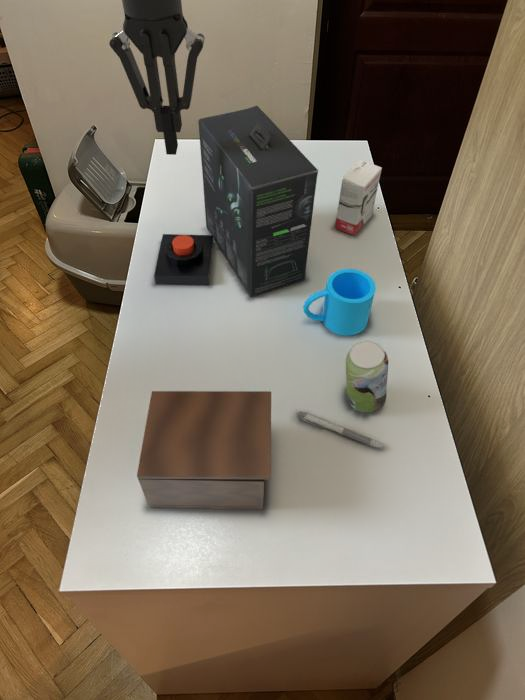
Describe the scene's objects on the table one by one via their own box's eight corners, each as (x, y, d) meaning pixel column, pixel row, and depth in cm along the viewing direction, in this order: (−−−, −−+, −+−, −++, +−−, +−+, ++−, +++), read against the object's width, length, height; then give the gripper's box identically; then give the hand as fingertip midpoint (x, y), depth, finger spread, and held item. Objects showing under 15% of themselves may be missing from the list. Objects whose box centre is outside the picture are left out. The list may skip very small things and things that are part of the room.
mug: (360, 299, 98) (367, 266, 91) (373, 332, 93) (382, 300, 86) (296, 306, 96) (299, 273, 90) (306, 340, 91) (310, 308, 85)
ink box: (354, 237, 109) (364, 187, 100) (333, 228, 111) (341, 178, 101) (372, 215, 114) (383, 166, 104) (352, 207, 115) (361, 158, 106)
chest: (264, 429, 80) (265, 396, 73) (263, 509, 72) (264, 481, 66) (161, 427, 80) (152, 394, 73) (148, 507, 72) (137, 479, 66)
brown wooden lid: (271, 394, 73) (271, 391, 72) (270, 479, 65) (270, 476, 64) (152, 394, 73) (151, 391, 73) (137, 478, 65) (136, 476, 65)
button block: (155, 284, 100) (152, 268, 96) (164, 242, 107) (161, 226, 104) (208, 285, 100) (207, 269, 96) (213, 243, 107) (212, 227, 104)
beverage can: (389, 413, 82) (406, 366, 73) (343, 419, 82) (354, 373, 72) (377, 380, 86) (392, 332, 77) (333, 386, 85) (342, 338, 76)
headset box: (307, 281, 101) (321, 157, 80) (250, 300, 97) (249, 176, 77) (256, 214, 113) (257, 92, 93) (204, 229, 110) (193, 106, 90)
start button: (172, 255, 99) (170, 248, 98) (174, 241, 102) (173, 234, 100) (193, 256, 99) (192, 249, 98) (195, 242, 102) (194, 235, 100)
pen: (296, 412, 82) (297, 407, 81) (383, 447, 79) (385, 442, 78) (294, 417, 82) (294, 413, 80) (381, 453, 78) (383, 448, 77)
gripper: (203, -33, 69) (214, 138, 87) (102, -35, 69) (135, 136, 87) (197, -13, 64) (211, 163, 82) (89, -14, 64) (127, 162, 82)
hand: (172, 149), depth 85 cm, fingers closed
